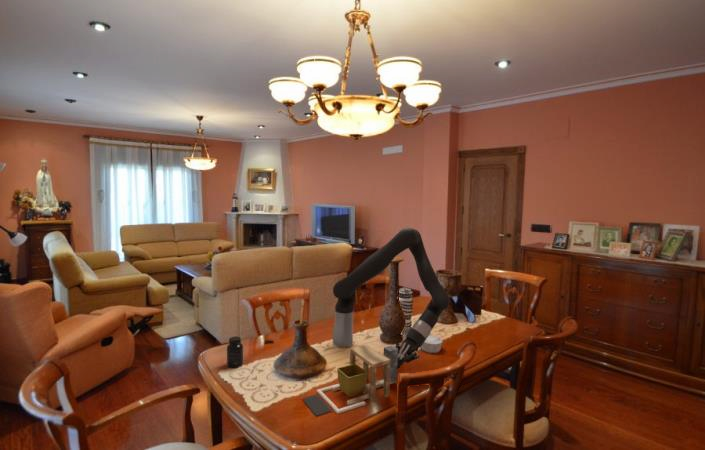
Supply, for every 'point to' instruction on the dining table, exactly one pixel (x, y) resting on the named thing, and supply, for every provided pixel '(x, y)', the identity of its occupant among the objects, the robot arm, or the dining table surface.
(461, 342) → the dining table surface
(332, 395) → the dining table surface
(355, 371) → the flower pot
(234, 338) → the supplement bottle
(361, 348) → the oak bridge
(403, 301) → the striped vase
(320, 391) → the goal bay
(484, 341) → the dining table surface
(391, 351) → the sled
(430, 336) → the ramekin
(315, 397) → the mat
